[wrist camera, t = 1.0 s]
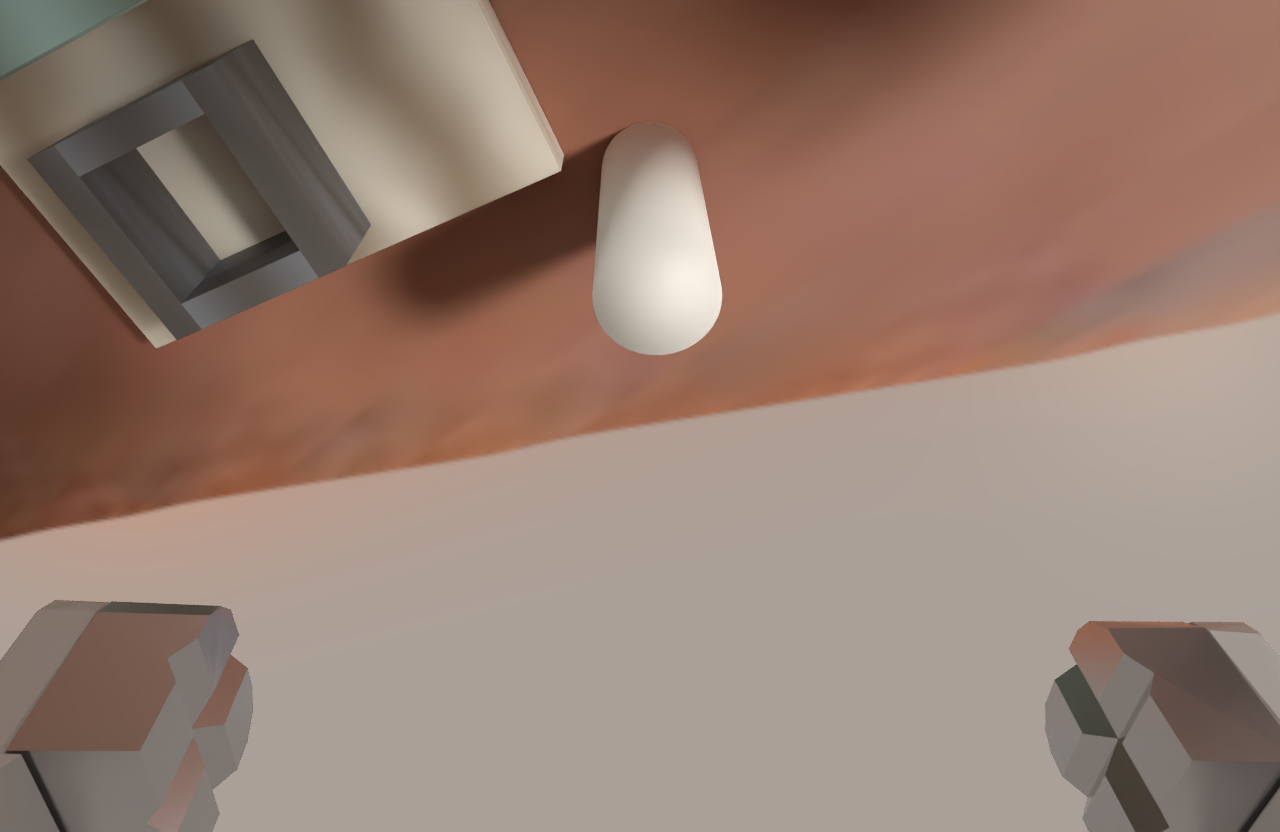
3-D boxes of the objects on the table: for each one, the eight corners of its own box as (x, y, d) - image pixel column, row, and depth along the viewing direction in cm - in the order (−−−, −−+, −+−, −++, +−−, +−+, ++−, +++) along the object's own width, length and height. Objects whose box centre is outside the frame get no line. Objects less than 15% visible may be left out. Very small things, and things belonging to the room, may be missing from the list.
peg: (675, 105, 36) (694, 217, 26) (711, 193, 38) (740, 328, 28) (585, 144, 37) (570, 268, 27) (625, 229, 39) (624, 371, 29)
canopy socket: (269, -452, 27) (28, -628, 16) (564, 155, 37) (538, 295, 26) (-209, -140, 31) (-652, -113, 20) (174, 327, 41) (16, 508, 31)
